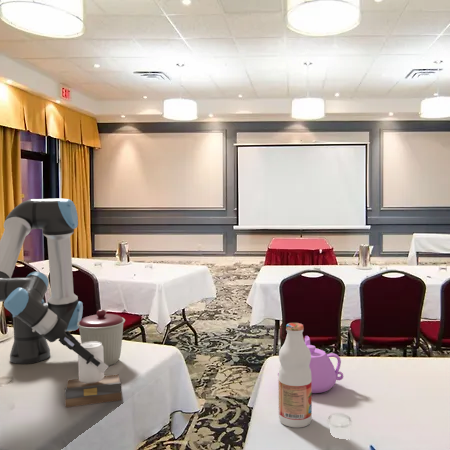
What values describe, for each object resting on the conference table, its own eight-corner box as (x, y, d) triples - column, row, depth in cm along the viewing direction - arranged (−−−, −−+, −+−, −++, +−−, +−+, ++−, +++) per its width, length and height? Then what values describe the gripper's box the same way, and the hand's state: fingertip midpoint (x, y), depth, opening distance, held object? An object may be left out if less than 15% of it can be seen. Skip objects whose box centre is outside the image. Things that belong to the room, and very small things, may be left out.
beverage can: (97, 385, 151) (96, 349, 151) (74, 383, 153) (73, 347, 152) (108, 376, 159) (107, 341, 158) (86, 374, 161) (85, 340, 160)
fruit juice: (272, 416, 137) (272, 322, 136) (300, 410, 141) (300, 319, 139) (288, 431, 129) (288, 331, 127) (318, 424, 132) (318, 327, 130)
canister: (88, 354, 193) (87, 304, 192) (131, 355, 192) (130, 304, 191) (70, 370, 176) (68, 315, 174) (117, 371, 174) (116, 315, 173)
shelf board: (67, 387, 160) (67, 371, 160) (118, 381, 165) (118, 365, 165) (65, 407, 145) (64, 390, 144) (121, 400, 149) (121, 383, 149)
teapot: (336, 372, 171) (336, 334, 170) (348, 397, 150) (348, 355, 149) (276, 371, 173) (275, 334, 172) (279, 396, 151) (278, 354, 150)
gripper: (35, 328, 155) (87, 366, 165) (47, 343, 139) (103, 385, 148) (52, 310, 158) (101, 349, 167) (64, 323, 141) (118, 365, 151)
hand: (102, 366), depth 158 cm, fingers closed on beverage can, 6 cm apart
